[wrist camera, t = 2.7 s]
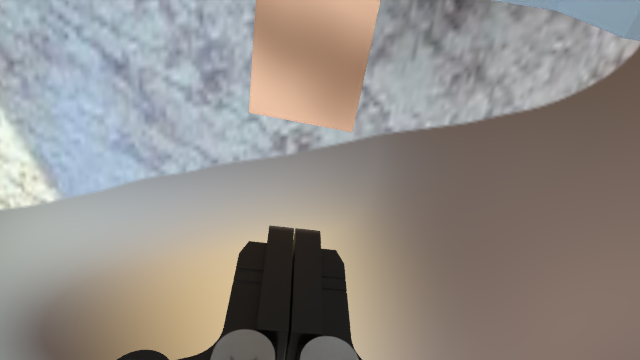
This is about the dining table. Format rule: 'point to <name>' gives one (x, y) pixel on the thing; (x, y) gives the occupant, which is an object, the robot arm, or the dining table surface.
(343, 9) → the lever
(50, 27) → the dining table surface
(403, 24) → the dining table surface
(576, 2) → the blue open bin
